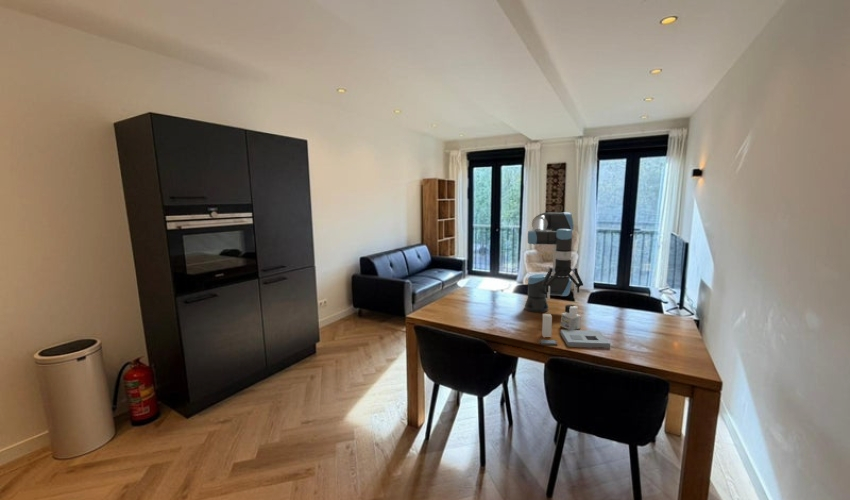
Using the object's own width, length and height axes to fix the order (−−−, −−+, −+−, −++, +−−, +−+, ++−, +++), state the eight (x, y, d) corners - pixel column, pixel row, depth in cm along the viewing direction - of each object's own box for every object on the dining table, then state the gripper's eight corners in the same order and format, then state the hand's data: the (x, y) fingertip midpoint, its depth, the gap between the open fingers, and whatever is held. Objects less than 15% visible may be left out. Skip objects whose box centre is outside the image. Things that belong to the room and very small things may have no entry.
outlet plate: (560, 333, 189) (560, 329, 189) (598, 335, 186) (599, 330, 186) (567, 346, 174) (568, 341, 173) (610, 348, 171) (610, 343, 170)
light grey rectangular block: (542, 334, 189) (542, 313, 188) (549, 334, 189) (550, 313, 187) (543, 337, 186) (544, 316, 184) (551, 337, 185) (551, 316, 183)
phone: (539, 341, 181) (539, 339, 181) (555, 341, 180) (555, 340, 179) (541, 344, 177) (541, 343, 176) (557, 345, 175) (557, 343, 175)
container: (560, 326, 201) (561, 304, 199) (570, 323, 203) (571, 302, 201) (570, 330, 194) (571, 308, 192) (580, 328, 196) (582, 306, 194)
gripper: (540, 260, 175) (538, 300, 179) (591, 260, 172) (589, 300, 176) (536, 257, 183) (536, 296, 186) (585, 257, 180) (584, 296, 183)
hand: (561, 298), depth 181 cm, fingers open, 13 cm apart
